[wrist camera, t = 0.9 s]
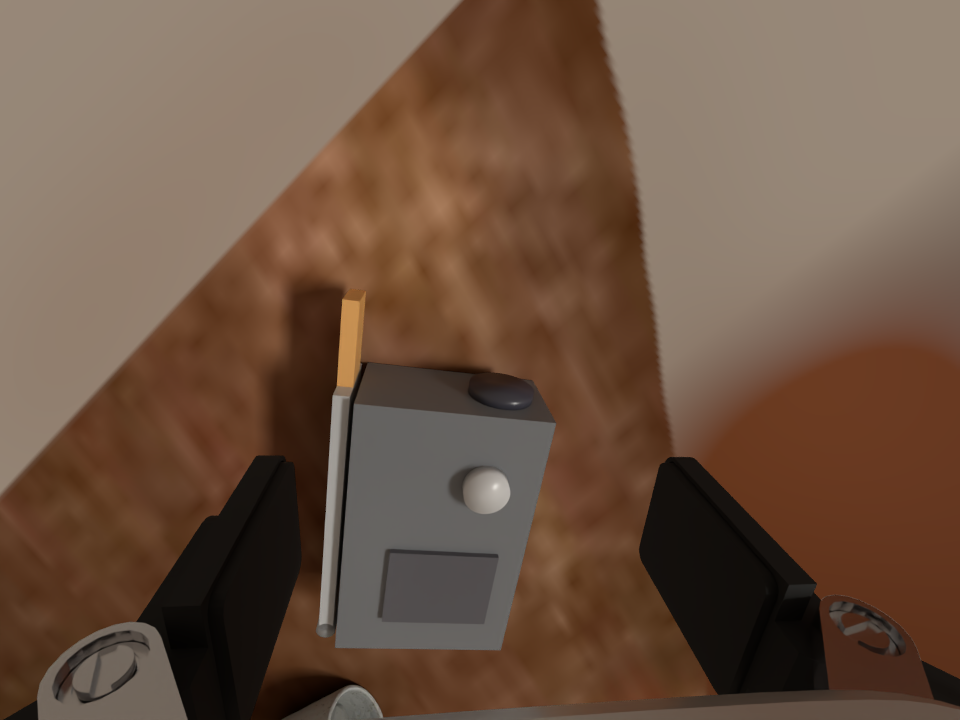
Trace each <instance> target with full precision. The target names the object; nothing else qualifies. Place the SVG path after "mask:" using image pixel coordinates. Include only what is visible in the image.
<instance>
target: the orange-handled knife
mask: <svg viewBox="0 0 960 720" xmlns="http://www.w3.org/2000/svg"><path fill="white" fill-rule="evenodd" d="M365 296H366V291H363V290H356V289H350V290H349V291H348V292H347V294H346V295H345V296H344V298H343V299H342V313H341V329H340V345H339V361H338V377H337V387H336V389H335V391H334V394H333V400H332V416H331V433H330V450H329V467H328V483H327V500H326V517H325V533H324V550H323V567H322V584H321V600H320V616H319V620H318V624H317V628H316V633H317V634H318V635H319V636H321V637H330V636H332V635H333V634H334V633H335V629H336V624H337V617H338V604H339V591H340V578H341V565H342V552H343V539H344V526H345V513H346V500H347V488H348V475H349V462H350V449H351V436H352V423H353V410H354V402H355V399H356V396H357V393H358V390H359V387H360V381H361V369H362V364H361V363H360V359H361V346H362V333H363V321H364V308H365Z"/></svg>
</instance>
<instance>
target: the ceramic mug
mask: <svg viewBox="0 0 960 720" xmlns="http://www.w3.org/2000/svg"><path fill="white" fill-rule="evenodd" d="M371 718H383V716H382V713H381V710H380V708H379V706H378V704H377V703H376V701H375V699H374V698H373V697H372V695H371V694H370V693H369V692H368V691H367V690H365V689H364V688H363V687H361V686H358V685H348V686H345V687H343V688H341V689H339V690H337V691H335V692H334V693H332V694H330V695H328V696H326V697H324V698H322V699H320V700H318V701H316V702H314V703H312V704H310V705H308V706H307V707H305V708H303V709H301V710H299V711H297V712H295V713H293V714H291V715H289V716H287V717H285V718H283V719H281V720H357V719H371Z"/></svg>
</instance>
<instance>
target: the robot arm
mask: <svg viewBox="0 0 960 720" xmlns="http://www.w3.org/2000/svg"><path fill="white" fill-rule="evenodd" d="M639 553H640V558H641V561H642V563H643V565H644V566H645V568H646V570H647V572H648V574H649V575H650V577H651V579H652V581H653V582H654V584H655V586H656V588H657V589H658V591H659V593H660V595H661V596H662V598H663V600H664V602H665V603H666V605H667V607H668V609H669V610H670V612H671V614H672V616H673V617H674V619H675V621H676V623H677V625H678V626H679V628H680V630H681V632H682V633H683V635H684V637H685V639H686V640H687V642H688V644H689V646H690V647H691V649H692V651H693V653H694V654H695V656H696V658H697V660H698V661H699V663H700V665H701V667H702V669H703V670H704V672H705V674H706V676H707V677H708V679H709V681H710V683H711V684H712V686H713V688H714V689H715V691H716V692H717V694H718V695H710V696H694V697H677V698H660V699H644V700H629V701H613V702H598V703H583V704H568V705H553V706H538V707H524V708H509V709H494V710H480V711H467V712H453V713H439V714H426V715H412V716H398V717H385V718H371V719H357V720H960V679H958V678H956V677H954V676H952V675H950V674H948V673H946V672H944V671H942V670H940V669H938V668H936V667H934V666H932V665H930V664H928V663H926V662H924V661H922V660H921V659H920V656H919V653H918V651H917V648H916V646H915V644H914V642H913V640H912V639H911V637H910V636H909V635H908V634H907V632H906V631H905V630H904V629H903V628H902V627H901V626H900V625H899V624H898V623H896V622H895V621H894V620H893V619H892V618H890V617H889V616H888V615H886V614H885V613H883V612H881V611H880V610H878V609H877V608H875V607H873V606H871V605H869V604H867V603H865V602H862V601H860V600H857V599H854V598H851V597H848V596H841V595H831V596H826V597H824V598H823V599H822V600H820V599H819V597H818V596H817V595H816V594H815V593H814V590H815V588H816V585H817V583H816V582H815V581H814V580H813V579H812V578H811V577H810V576H809V575H808V574H807V573H806V572H805V571H804V570H803V569H802V568H801V567H800V566H799V565H798V564H797V563H796V562H795V561H794V560H793V559H792V558H791V557H790V556H789V555H788V554H787V553H786V552H785V551H784V550H783V549H782V548H781V547H780V546H779V544H778V543H777V542H776V541H775V540H773V538H772V537H771V536H770V535H769V534H768V533H767V532H766V531H765V530H764V529H763V528H762V527H761V526H760V525H759V524H758V523H757V522H756V521H755V520H754V519H753V518H752V517H751V516H750V515H749V514H748V513H747V512H746V511H745V510H744V509H743V508H742V507H741V506H740V504H739V503H738V502H737V501H736V500H735V499H734V498H733V497H731V495H730V494H729V493H728V492H727V491H726V490H725V489H724V488H723V487H722V486H721V485H720V484H719V483H718V482H717V481H716V480H715V479H714V478H713V477H712V476H711V475H710V474H709V473H708V472H707V471H706V470H705V469H704V468H703V467H702V465H701V464H699V462H698V461H697V460H695V459H694V458H691V457H670V458H668V459H667V460H666V461H665V463H662V464H661V465H660V467H659V470H658V474H657V478H656V482H655V486H654V490H653V494H652V498H651V502H650V506H649V510H648V514H647V518H646V522H645V526H644V530H643V534H642V538H641V542H640V547H639ZM300 565H301V542H300V530H299V518H298V506H297V493H296V481H295V469H294V464H293V462H286V459H285V457H284V456H256V457H255V459H254V460H253V462H252V463H251V465H250V466H249V468H248V470H247V471H246V473H245V474H244V476H243V478H242V479H241V481H240V482H239V484H238V486H237V487H236V489H235V490H234V492H233V493H232V495H231V497H230V498H229V500H228V501H227V503H226V505H225V506H224V508H223V509H222V511H221V513H220V514H219V516H209V517H207V518H206V519H205V520H204V521H203V523H202V524H201V525H200V527H199V528H198V530H197V531H196V533H195V534H194V536H193V537H192V539H191V540H190V542H189V544H188V545H187V547H186V548H185V550H184V551H183V553H182V554H181V556H180V557H179V559H178V560H177V562H176V563H175V565H174V566H173V568H172V569H171V571H170V572H169V574H168V575H167V577H166V578H165V580H164V581H163V583H162V584H161V586H160V587H159V589H158V590H157V592H156V593H155V595H154V596H153V598H152V599H151V601H150V602H149V604H148V605H147V607H146V608H145V610H144V611H143V613H142V614H141V616H140V617H139V619H138V620H137V622H128V623H122V624H116V625H113V626H110V627H107V628H104V629H102V630H99V631H96V632H95V633H93V634H91V635H89V636H87V637H86V638H84V639H82V640H80V641H79V642H77V643H76V644H75V645H73V646H72V647H71V648H69V649H68V650H67V651H66V652H64V653H63V654H62V655H61V656H60V657H59V658H58V659H57V660H56V661H55V662H54V663H53V665H52V666H51V667H50V668H49V669H48V671H47V672H46V674H45V676H44V678H43V679H42V681H41V683H40V686H39V691H38V696H37V701H35V702H33V703H31V704H30V705H28V706H26V707H25V708H23V709H21V710H19V711H18V712H16V713H14V714H13V715H11V716H9V717H7V718H6V719H4V720H250V719H251V716H252V713H253V710H254V707H255V704H256V701H257V697H258V694H259V691H260V688H261V685H262V682H263V679H264V676H265V673H266V670H267V667H268V664H269V661H270V658H271V655H272V652H273V649H274V646H275V643H276V640H277V637H278V634H279V631H280V628H281V625H282V622H283V619H284V616H285V613H286V610H287V607H288V604H289V601H290V598H291V595H292V592H293V589H294V586H295V583H296V580H297V577H298V574H299V570H300Z"/></svg>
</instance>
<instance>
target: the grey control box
mask: <svg viewBox="0 0 960 720" xmlns="http://www.w3.org/2000/svg"><path fill="white" fill-rule="evenodd" d="M555 426H556V422H555V420H554V418H553V417H552V415H551V413H550V411H549V409H548V408H547V406H546V404H545V402H544V400H543V398H542V397H541V395H540V393H539V391H538V389H537V387H536V386H535V384H534V382H533V381H532V380H523V379H519V378H516V377H513V376H510V375H506V374H501V373H479V374H469V373H460V372H451V371H442V370H433V369H424V368H415V367H406V366H397V365H387V364H378V363H369V362H368V363H367V366H366V369H365V372H364V375H363V378H362V381H361V384H360V387H359V390H358V393H357V396H356V399H355V402H354V410H353V423H352V436H351V449H350V462H349V475H348V488H347V500H346V513H345V526H344V539H343V552H342V565H341V578H340V591H339V604H338V617H337V630H336V643H335V648H386V649H458V650H501V646H502V642H503V638H504V634H505V630H506V626H507V622H508V618H509V614H510V610H511V605H512V601H513V597H514V593H515V589H516V585H517V581H518V577H519V573H520V569H521V565H522V561H523V556H524V552H525V548H526V544H527V540H528V536H529V532H530V528H531V524H532V520H533V516H534V512H535V508H536V503H537V499H538V495H539V491H540V487H541V483H542V479H543V475H544V471H545V467H546V463H547V459H548V454H549V450H550V446H551V442H552V438H553V434H554V430H555Z"/></svg>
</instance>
